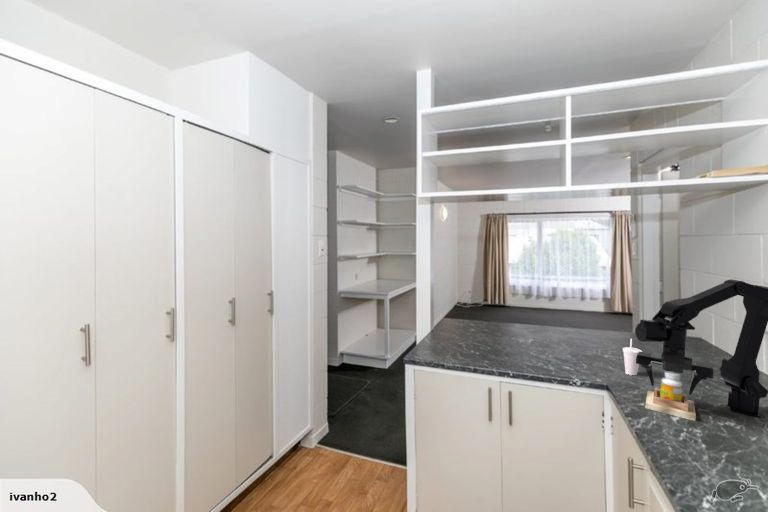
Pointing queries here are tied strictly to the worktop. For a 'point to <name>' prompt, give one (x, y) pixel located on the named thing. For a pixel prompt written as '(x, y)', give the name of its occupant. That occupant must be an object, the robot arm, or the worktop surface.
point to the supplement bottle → (671, 386)
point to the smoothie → (631, 359)
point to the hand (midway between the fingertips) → (670, 390)
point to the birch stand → (670, 405)
